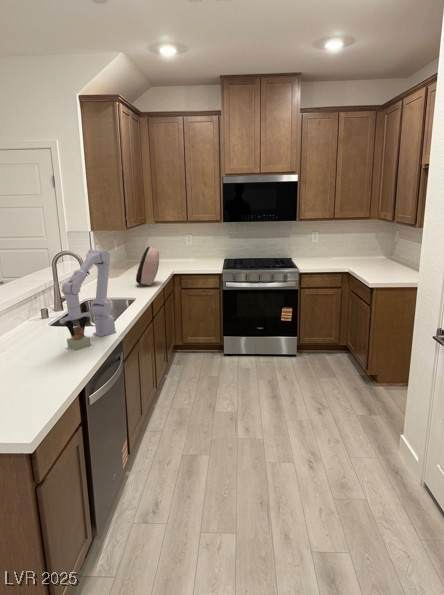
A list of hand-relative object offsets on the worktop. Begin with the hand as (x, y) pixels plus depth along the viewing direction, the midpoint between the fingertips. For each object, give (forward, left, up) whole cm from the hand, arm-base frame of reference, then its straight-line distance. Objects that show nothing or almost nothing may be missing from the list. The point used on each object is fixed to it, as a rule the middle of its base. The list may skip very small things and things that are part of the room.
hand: (77, 334), depth 198 cm
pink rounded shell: (-102, -85, -6) cm, 133 cm away
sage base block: (0, 0, -6) cm, 6 cm away
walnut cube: (0, 0, -2) cm, 2 cm away
